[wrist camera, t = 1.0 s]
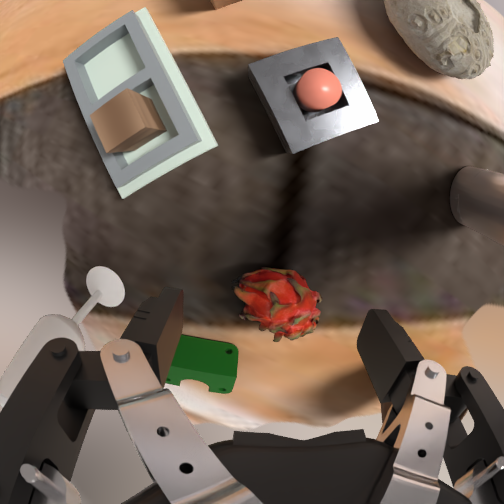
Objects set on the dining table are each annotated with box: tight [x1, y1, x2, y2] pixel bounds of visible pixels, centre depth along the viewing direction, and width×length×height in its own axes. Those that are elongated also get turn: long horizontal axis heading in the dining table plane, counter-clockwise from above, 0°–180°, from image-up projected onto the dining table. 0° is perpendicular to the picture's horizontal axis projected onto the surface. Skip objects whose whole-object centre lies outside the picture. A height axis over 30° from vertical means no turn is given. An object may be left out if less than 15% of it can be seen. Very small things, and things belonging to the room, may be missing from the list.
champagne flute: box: [0, 266, 125, 408], centre depth 24 cm, size 7×7×24 cm
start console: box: [248, 37, 379, 154], centre depth 25 cm, size 10×10×5 cm
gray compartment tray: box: [63, 7, 218, 199], centre depth 25 cm, size 13×22×4 cm, turn 25°
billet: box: [90, 88, 167, 153], centre depth 24 cm, size 4×4×7 cm
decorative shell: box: [384, 0, 494, 79], centre depth 17 cm, size 18×18×10 cm
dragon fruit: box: [231, 267, 322, 342], centre depth 33 cm, size 8×8×12 cm
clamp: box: [165, 335, 238, 394], centre depth 37 cm, size 12×6×9 cm, turn 73°
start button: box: [293, 68, 342, 112], centre depth 23 cm, size 4×4×4 cm
